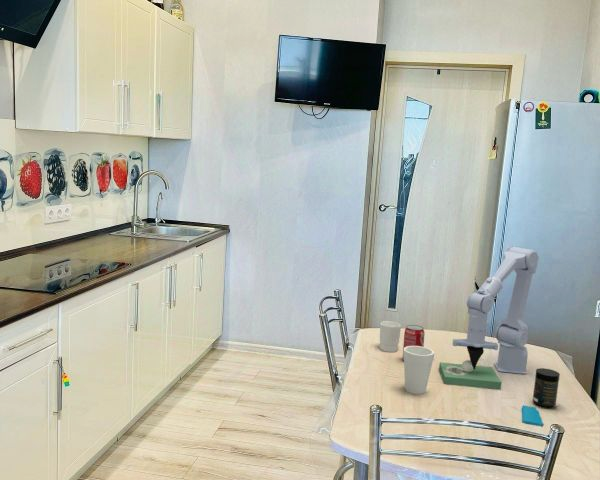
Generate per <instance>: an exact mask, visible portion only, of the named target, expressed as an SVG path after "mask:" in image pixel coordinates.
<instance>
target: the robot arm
mask: <svg viewBox="0 0 600 480" xmlns="http://www.w3.org/2000/svg"><path fill="white" fill-rule="evenodd" d="M502 255H503V257H502V258H503V259H502V262H501V264H500V265H499V267H498V268H497V269H496V271H495V273H494V274H493V275H492V276H488V277H487V278H486V280H485V281H484V282H483V283H482V285H481V286H480V287H479V288H478V289H477V290H476V291H475V292H472V293H470V295H469V296H468V298H467V300H466V306H467V308H468V310H467V314H468V322H467V323H468V324H467V335H466V338H452V347H465V348H466V349H467V352H468V355H469V361H471V362H472V366H473V369H475V367H476V366H478V365H477V364H478V362H479V360H480V358H481V357H482V356H483V355H484V352H485V350H484V349H486V350H487V349H488V350H494V351H498V357H497V362H494V363H493V365H494V367H495V368H496V370H497V371H498V372H499V373H500V372H501V373H509V374H510V373H511V374H521V375H526V374H527V366H528V365H527V364H528V348H527V347H526V345H527V342H528V337H529V336H528V331H529V327H528V325H527V324H526V323H525V322H524V320H523V318H524V315H525V310H526V305H527V301H528V297H529V293H530V288H531V285H532V279H533V276H534V274H535V273H536V271H537V268H538V262H539V255H538V252H537V251H536V250H535V249H528V248H523V247H518V246H514V245H510V246H508V247H507V248H505V251H504V252H503V254H502ZM512 272H515V274H516V276H515V280H514V284H513V289H512V293H511V299H510V302H509V307H508V310H507V311H508V312H507V316H506V317H504V318H502V319H500V320H499V323H498V326H497V327H496V329H495V332H494V333H495V334H494V335H495V339H496V340H497V342H491V341H486V339H485V338H486V332H487V331H486V330H487V322H488V314H489V312H490V311H491V310H492V308H493V305H494V302H495V298H496V296H497V295H498V294H499V293H500V292H501V290H502V289H503V283H504V281H505V280H506V279H507V278H508V277H509V276H510V275H511V274H512Z"/></svg>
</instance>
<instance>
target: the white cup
mask: <svg viewBox="0 0 600 480" xmlns="http://www.w3.org/2000/svg"><path fill="white" fill-rule="evenodd" d="M379 324H380V326H379V349H380V350H381V351H384V352H387V353H393V352H394V353H395V352H397V351H398V350H399V344H400V343H399V342H400V337H401V328H402V324H401V323H399V322H396V321H391V320H390V321H389V320H383V321H380V323H379Z"/></svg>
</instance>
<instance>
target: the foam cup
mask: <svg viewBox="0 0 600 480" xmlns="http://www.w3.org/2000/svg"><path fill="white" fill-rule="evenodd" d="M403 357H404V360H403V368H404V370H403V371H404V390H405V391H406V392H407V393H409V392H410V393H409V394H413V393H414V394H413V395H422V393H423V394H425V393H426V390H427V387H428V383H429V378H430V374H431V370H432V367H433V362H434V360H435V351H434V350H432V349H431V348H428V347H425V346H424V347H421V346H407V347H405V348H404V351H403V350H402V358H403Z"/></svg>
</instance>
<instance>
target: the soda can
mask: <svg viewBox="0 0 600 480" xmlns="http://www.w3.org/2000/svg"><path fill="white" fill-rule="evenodd" d="M425 334H426V333H425V329H424V326H422V325H418V324H407V325H406V326H405V329H404V334H403V346H402V352H403V351H404V348H405V347H407V346H421V347H425ZM402 360H403V361H404V357H403V356H402Z"/></svg>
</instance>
